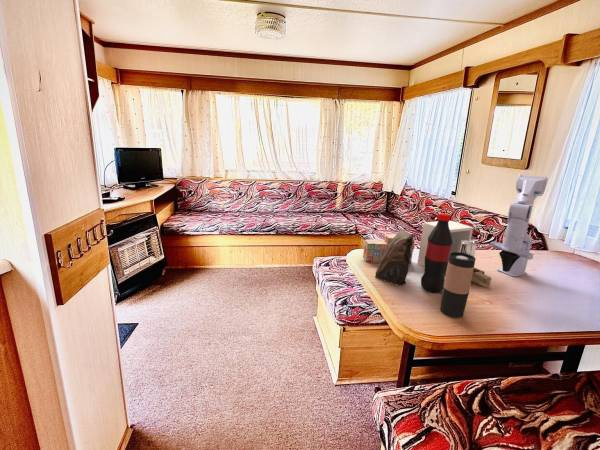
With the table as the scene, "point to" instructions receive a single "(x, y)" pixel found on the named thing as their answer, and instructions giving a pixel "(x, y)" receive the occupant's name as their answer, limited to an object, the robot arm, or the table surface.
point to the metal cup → (466, 247)
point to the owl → (396, 259)
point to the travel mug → (457, 284)
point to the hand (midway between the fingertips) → (505, 270)
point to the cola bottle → (437, 255)
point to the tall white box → (457, 234)
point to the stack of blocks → (379, 248)
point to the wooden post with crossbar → (480, 278)
